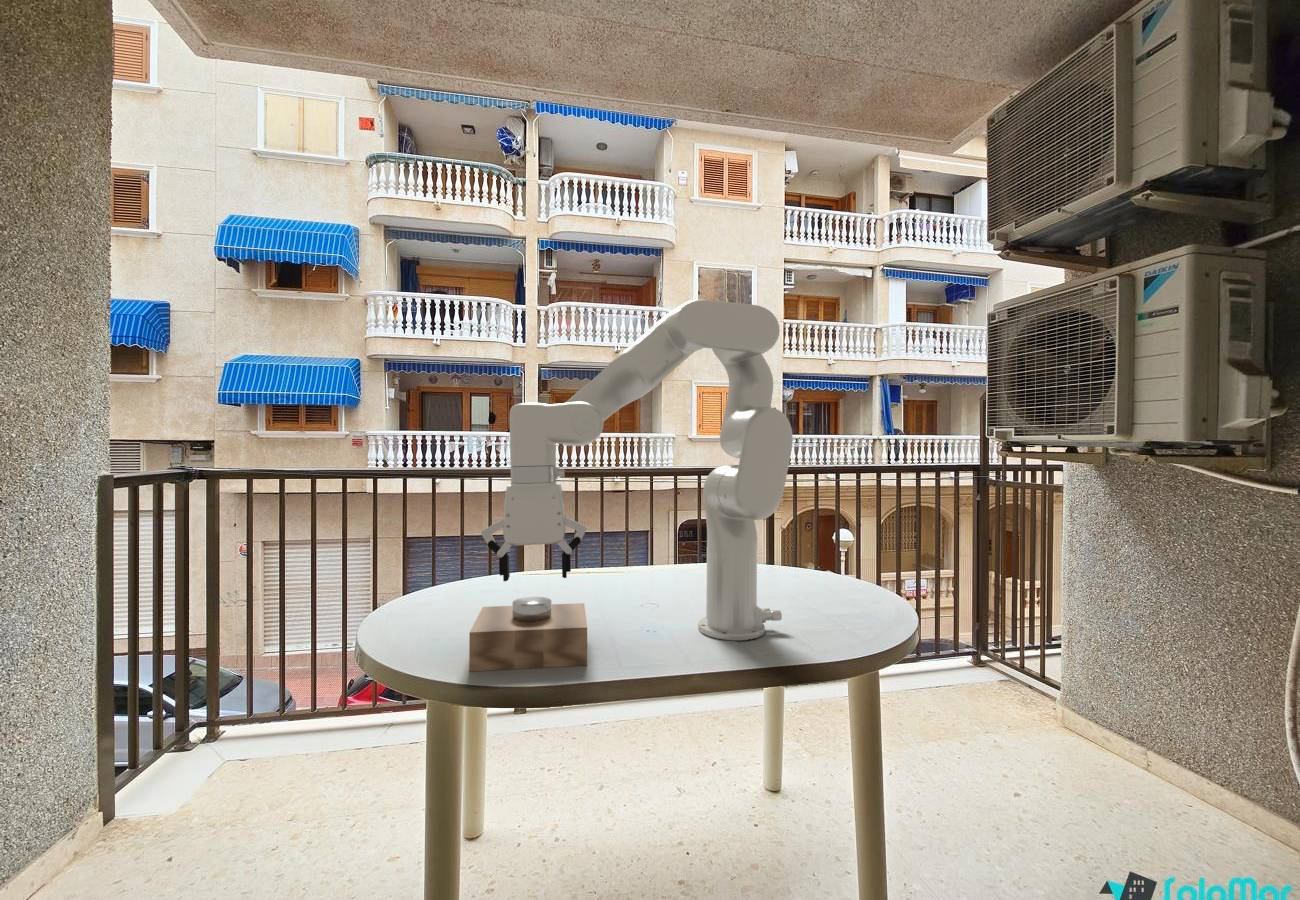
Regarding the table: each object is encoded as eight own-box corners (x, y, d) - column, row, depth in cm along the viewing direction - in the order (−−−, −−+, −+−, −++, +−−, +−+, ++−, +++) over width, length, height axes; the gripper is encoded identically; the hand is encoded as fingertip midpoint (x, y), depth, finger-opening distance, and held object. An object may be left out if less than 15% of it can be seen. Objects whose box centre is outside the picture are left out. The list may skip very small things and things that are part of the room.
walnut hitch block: (583, 635, 102) (584, 603, 102) (587, 665, 88) (587, 627, 88) (482, 640, 99) (482, 606, 99) (469, 671, 85) (469, 632, 85)
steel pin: (551, 638, 97) (551, 596, 97) (550, 652, 91) (550, 606, 91) (514, 640, 96) (514, 597, 96) (510, 654, 90) (510, 607, 90)
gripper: (584, 474, 99) (586, 570, 99) (483, 476, 96) (486, 575, 96) (586, 476, 91) (588, 580, 91) (477, 479, 88) (479, 586, 89)
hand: (535, 577), depth 94 cm, fingers open, 9 cm apart
